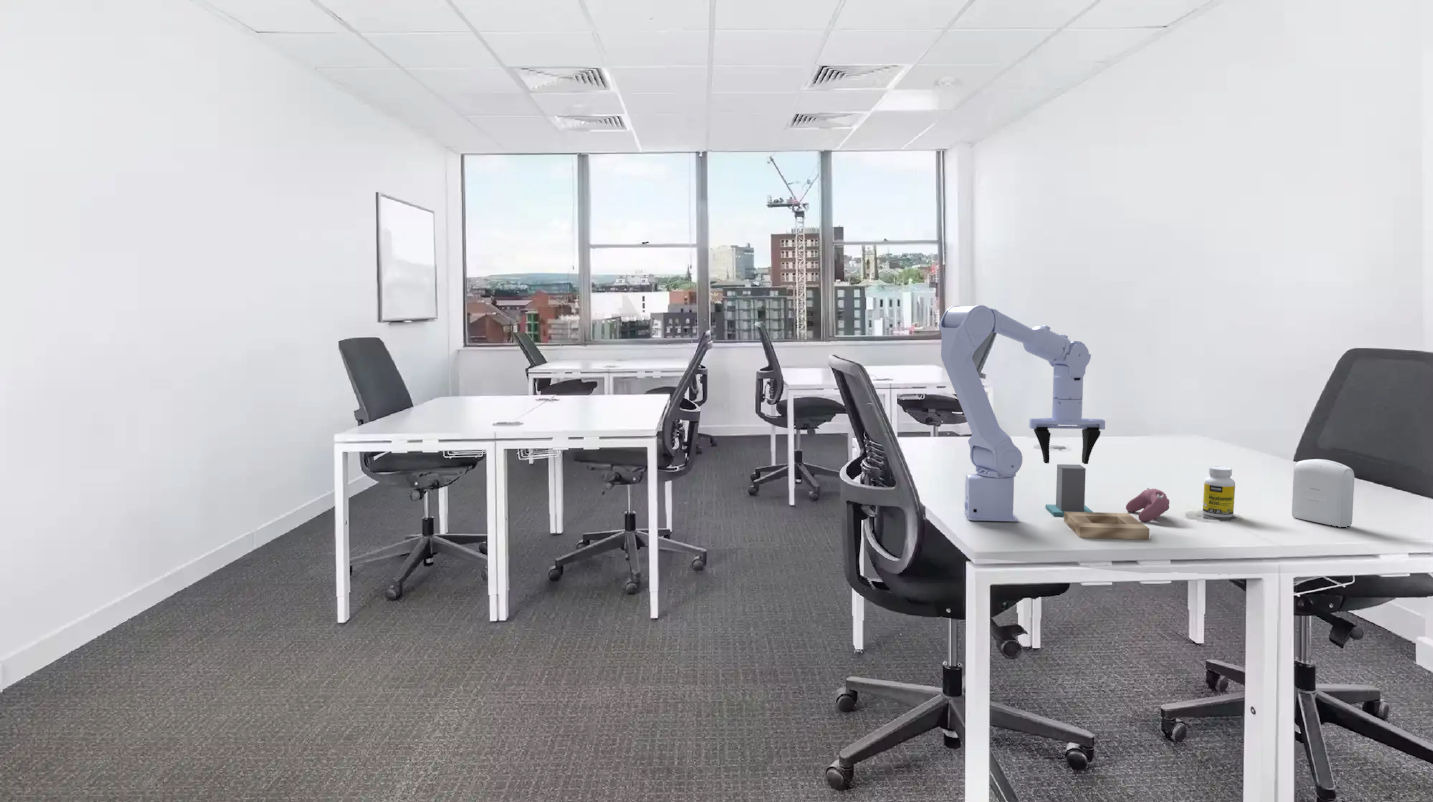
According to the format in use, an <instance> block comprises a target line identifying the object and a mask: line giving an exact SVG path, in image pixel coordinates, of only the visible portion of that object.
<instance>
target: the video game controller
mask: <svg viewBox="0 0 1433 802" xmlns="http://www.w3.org/2000/svg"><path fill="white" fill-rule="evenodd" d="M1169 509H1170V499H1169V498H1168V496H1167V494H1166V493H1165V492H1164V491H1162V490H1160V489H1157V488H1149V487H1147V488H1146V489H1145V490H1143V491H1141V493H1139V494H1138V495H1137V496H1136V497H1134V498H1133V499H1131V500H1130V501H1128V502H1127V503H1126V504H1125V510H1126V511H1127V513H1135V512H1138V511H1140V510H1141V511H1140V512H1139V514H1138V521H1140V522H1141V523H1146V522H1151V521H1153V520H1156V519H1157V518H1158V517H1160V516H1161V515H1163V514H1165V512H1166V511H1168V510H1169Z"/></svg>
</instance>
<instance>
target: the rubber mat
mask: <svg viewBox="0 0 1433 802" xmlns="http://www.w3.org/2000/svg"><path fill="white" fill-rule="evenodd" d="M1044 506H1045V509H1046V510H1047V511H1048V513H1050V514H1051V516H1053V517H1064V512H1073V511H1060V510H1059V509H1058V508H1057V507H1056V504H1045V505H1044ZM1084 512H1094V511H1093V510H1092V509H1090V507H1088V506H1087V505H1085V504H1084Z"/></svg>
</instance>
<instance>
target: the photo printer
mask: <svg viewBox="0 0 1433 802" xmlns="http://www.w3.org/2000/svg"><path fill="white" fill-rule="evenodd" d="M1292 477H1293V480H1292V498H1291V502H1292V504H1291V516H1292V517H1293V518H1294V519H1299V520H1303V521H1308V522H1313V523H1318V524H1324V525H1327V526H1331V525H1332V526H1333V527H1336V526H1338V527H1337V528H1341V527H1346V528H1348V527H1347V526H1350V527H1351V525H1352V524H1353V516H1354V515H1353V514H1354V513H1353V510H1354V495H1355V494H1354V492H1355V472H1354V470H1353V469H1352V467H1349V466H1347V465H1346V464H1343V463H1340V462H1337V461H1333V460H1329V459H1321V458H1315V459H1314V458H1313V459H1303V460H1300V461H1297V462H1296V463H1295V465H1294V469H1293V476H1292Z"/></svg>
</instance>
